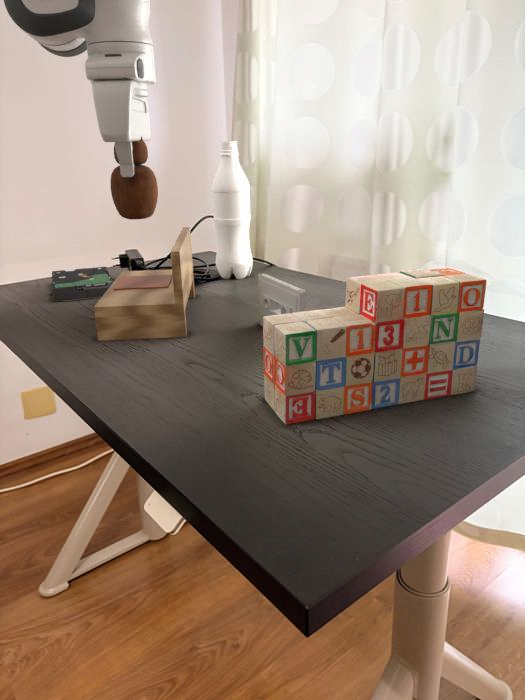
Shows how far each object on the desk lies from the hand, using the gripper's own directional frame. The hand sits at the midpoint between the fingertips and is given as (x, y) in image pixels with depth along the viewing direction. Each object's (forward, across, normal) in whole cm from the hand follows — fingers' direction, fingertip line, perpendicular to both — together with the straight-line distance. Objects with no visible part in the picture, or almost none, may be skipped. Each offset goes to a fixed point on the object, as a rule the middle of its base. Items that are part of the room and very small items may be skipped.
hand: (132, 175), depth 85 cm
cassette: (+21, +14, +20) cm, 32 cm away
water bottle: (+21, -23, +14) cm, 34 cm away
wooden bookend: (+21, +2, +1) cm, 21 cm away
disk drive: (+21, -17, -14) cm, 31 cm away
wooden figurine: (+6, 0, 0) cm, 6 cm away
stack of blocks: (+21, +34, +28) cm, 49 cm away
